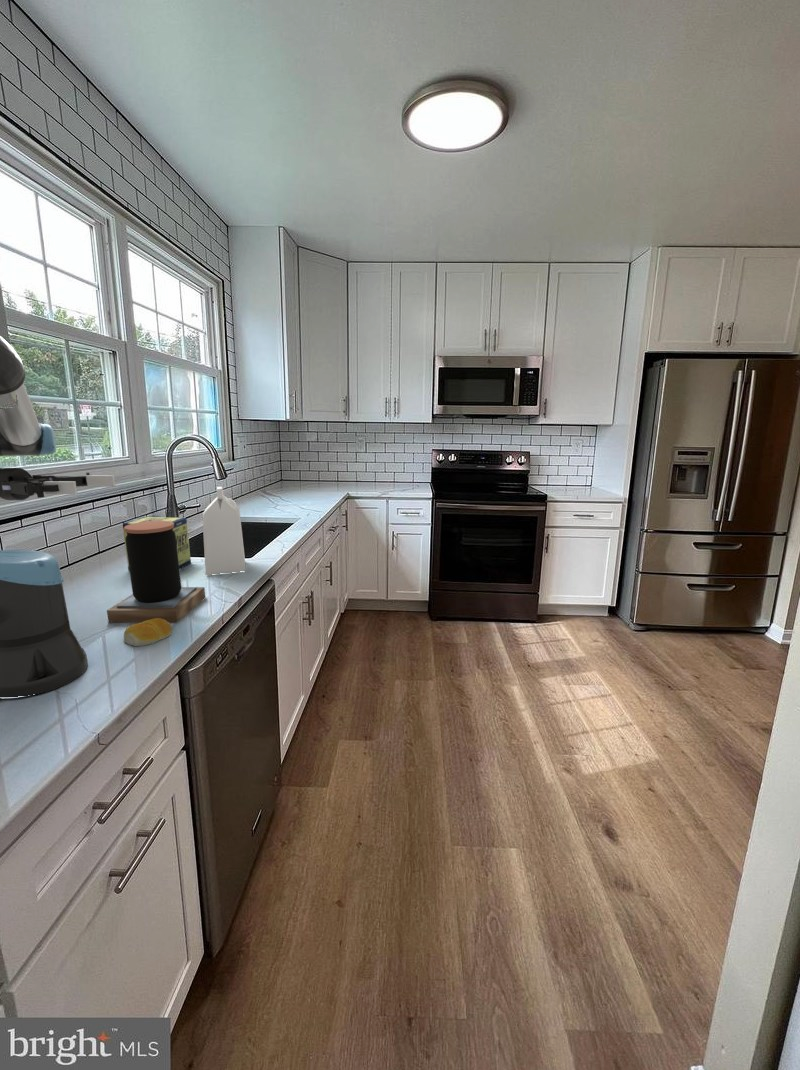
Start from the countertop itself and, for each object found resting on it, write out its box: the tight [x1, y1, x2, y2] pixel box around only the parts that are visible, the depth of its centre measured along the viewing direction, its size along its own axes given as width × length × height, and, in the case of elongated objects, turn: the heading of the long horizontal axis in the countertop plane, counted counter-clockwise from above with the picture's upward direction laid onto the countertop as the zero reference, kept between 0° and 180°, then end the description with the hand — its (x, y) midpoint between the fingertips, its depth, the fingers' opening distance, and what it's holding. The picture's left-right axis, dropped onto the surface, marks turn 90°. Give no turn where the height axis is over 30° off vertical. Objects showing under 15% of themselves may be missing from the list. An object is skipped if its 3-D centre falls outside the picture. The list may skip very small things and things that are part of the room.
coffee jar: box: [124, 521, 182, 603], centre depth 113 cm, size 11×11×18 cm
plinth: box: [106, 586, 206, 624], centre depth 116 cm, size 16×16×4 cm
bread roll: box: [123, 618, 172, 647], centre depth 101 cm, size 8×9×4 cm
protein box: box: [122, 516, 192, 572], centre depth 149 cm, size 10×16×16 cm
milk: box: [202, 486, 246, 576], centre depth 146 cm, size 12×12×26 cm
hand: (95, 484), depth 108 cm, fingers open, 13 cm apart
